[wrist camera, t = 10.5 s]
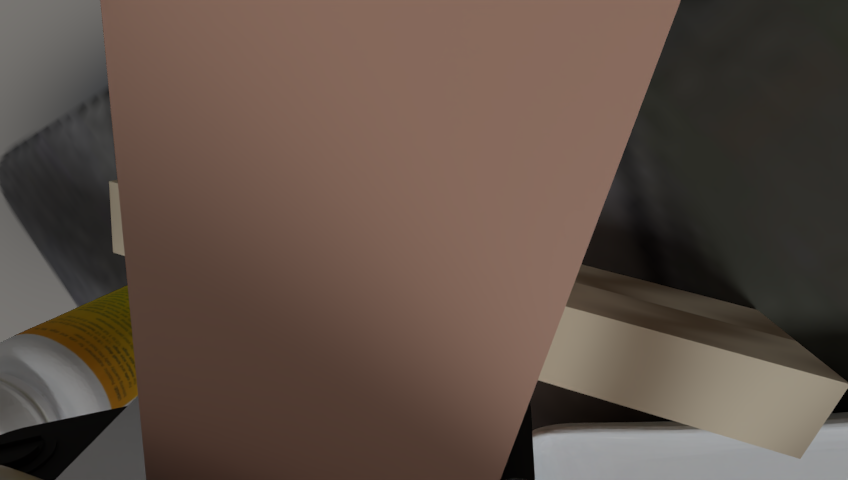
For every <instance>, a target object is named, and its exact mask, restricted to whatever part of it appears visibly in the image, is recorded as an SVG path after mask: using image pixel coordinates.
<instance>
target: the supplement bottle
mask: <svg viewBox="0 0 848 480" xmlns="http://www.w3.org/2000/svg"><path fill="white" fill-rule="evenodd" d="M137 396H138V389H137V378H136V368H135V357H134V347H133V336H132V326H131V315H130V305H129V294H128V285H127V286H125V287H122V288H120V289H118V290H116V291H113V292H111V293H109V294H107V295H104V296H102V297H100V298H97V299H95V300H93V301H91V302H89V303H86V304H84V305H82V306H79V307H77V308H75V309H73V310H71V311H69V312H67V313H64V314H62V315H60V316H58V317H56V318H53V319H51V320H49V321H46V322H44V323H42V324H39V325H37V326H35V327H32V328H30V329H28V330H26V331H24V332H22V333H19V334H17V335H15V336H13V337H11V338H9V339H7V340H5V341H3V342H1V343H0V435H2V434H4V433H6V432H9V431H13V430H16V429H20V428H23V427H28V426H33V425H38V424H43V423H47V422H52V421H57V420H62V419H67V418H72V417H76V416H81V415H86V414H91V413H96V412H100V411H105V410H110V409H115V408H120V407H124V406H128V405H129V404H130V403H131V402H132V401H133V400H134V399H135V398H136V397H137Z"/></svg>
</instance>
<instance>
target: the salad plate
mask: <svg viewBox="0 0 848 480" xmlns="http://www.w3.org/2000/svg"><path fill="white" fill-rule="evenodd" d="M532 437H533V454H534V470H535V480H848V412H842V413H831V414H830V415H829V417H828V418H827V420H826V421H825V423H824V424H823V426H822V427H821V429H820V430H819V432H818V433H817V435H816V436H815V438H814V439H813V441H812V442H811V444H810V445H809V447H808V448H807V450H806V451H805V453H804V454H803V456H802V457H801V459H799V458H795V457H792V456H789V455H785V454H782V453H779V452H775V451H772V450H769V449H765V448H762V447H759V446H755V445H752V444H749V443H745V442H742V441H739V440H735V439H732V438H729V437H725V436H722V435H719V434H715V433H712V432H709V431H705V430H702V429H699V428H696V427H692V426H689V425H686V424H682V423H679V422H676V421H662V422H605V423H565V424H554V425H549V426H544V427H540V428H537V429H535V430H533V431H532Z"/></svg>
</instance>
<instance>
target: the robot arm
mask: <svg viewBox="0 0 848 480" xmlns="http://www.w3.org/2000/svg"><path fill="white" fill-rule="evenodd" d="M0 480H146V472H145V462H144V451H143V441H142V431H141V420H140V410H139V399H138V396H137V397H136V398H135V399H134V400H133V401H132V402H131V403H130V404H129V405H128V406H124V407H120V408H115V409H110V410H105V411H100V412H96V413H91V414H86V415H81V416H76V417H72V418H67V419H62V420H57V421H52V422H47V423H43V424H38V425H33V426H28V427H23V428H20V429H16V430H13V431H9V432H6V433H4V434H2V435H0ZM500 480H535V470H534V454H533V437H532V420H531V406H530V402H529V405H528V407H527V410H526V413H525V415H524V418H523V421H522V423H521V426H520V429H519V431H518V434H517V437H516V439H515V442H514V445H513V447H512V450H511V453H510V455H509V458H508V460H507V463H506V466H505V468H504V471H503V474H502V476H501V479H500Z"/></svg>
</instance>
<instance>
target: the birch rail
mask: <svg viewBox="0 0 848 480" xmlns="http://www.w3.org/2000/svg"><path fill="white" fill-rule="evenodd" d="M109 189H110V207H111V225H112V243H113V253H116V254H120V255H123V256H125V252H124V242H123V232H122V221H121V211H120V200H119V190H118V180H113V181H109ZM538 380H539V381H542V382H546V383H549V384H552V385H556V386H559V387H562V388H566V389H569V390H572V391H576V392H579V393H582V394H586V395H589V396H592V397H596V398H599V399H602V400H606V401H609V402H612V403H616V404H619V405H622V406H626V407H629V408H632V409H636V410H639V411H642V412H646V413H649V414H652V415H656V416H659V417H662V418H666V419H669V420H672V421H676V422H679V423H682V424H686V425H689V426H692V427H696V428H699V429H702V430H705V431H709V432H712V433H715V434H719V435H722V436H725V437H729V438H732V439H735V440H739V441H742V442H745V443H749V444H752V445H755V446H759V447H762V448H765V449H769V450H772V451H775V452H779V453H782V454H785V455H789V456H792V457H795V458H799V459H801V457H802V456H803V454H804V453H805V451H806V450H807V448H808V447H809V445H810V444H811V442H812V441H813V439H814V438H815V436H816V435H817V433H818V432H819V430H820V429H821V427H822V426H823V424H824V423H825V421H826V420H827V418H828V417H829V415H830V414H831V412H832V411H833V409H834V408H835V406H836V405H837V403H838V402H839V400H840V399H841V397H842V396H843V395H844V393H845V392H846V390H847V389H848V382H847V381H846V380H844V379H843V378H842V377H841V376H839V375H838V374H837V373H836V372H834V371H833V370H832V369H831V368H829V367H828V366H827V365H826V364H824V363H823V362H822V361H821V360H819V359H818V358H817V357H816V356H814V355H813V354H812V353H811V352H809V351H808V350H807V349H806V348H804V347H803V346H802V345H801V344H799V343H798V342H797V341H796V340H794V339H793V338H792V337H791V336H789V335H788V334H787V333H786V332H784V331H783V330H782V329H781V328H779V327H778V326H777V325H776V324H774V323H773V322H772V321H771V320H769V319H768V318H767V317H766V316H764V315H763V314H762V313H761V312H759V311H758V310H756V309H752V308H748V307H744V306H741V305H737V304H733V303H729V302H725V301H721V300H717V299H714V298H710V297H706V296H702V295H698V294H694V293H690V292H687V291H683V290H679V289H675V288H671V287H667V286H663V285H660V284H656V283H652V282H648V281H644V280H640V279H636V278H633V277H629V276H625V275H621V274H617V273H613V272H609V271H606V270H602V269H598V268H594V267H590V266H586V265H582V264H581V266H580V269H579V272H578V274H577V277H576V280H575V282H574V285H573V288H572V290H571V293H570V296H569V298H568V301H567V304H566V306H565V309H564V312H563V314H562V317H561V320H560V322H559V325H558V328H557V330H556V333H555V336H554V338H553V341H552V344H551V346H550V349H549V351H548V354H547V357H546V359H545V362H544V365H543V367H542V370H541V373H540V375H539V378H538Z"/></svg>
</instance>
